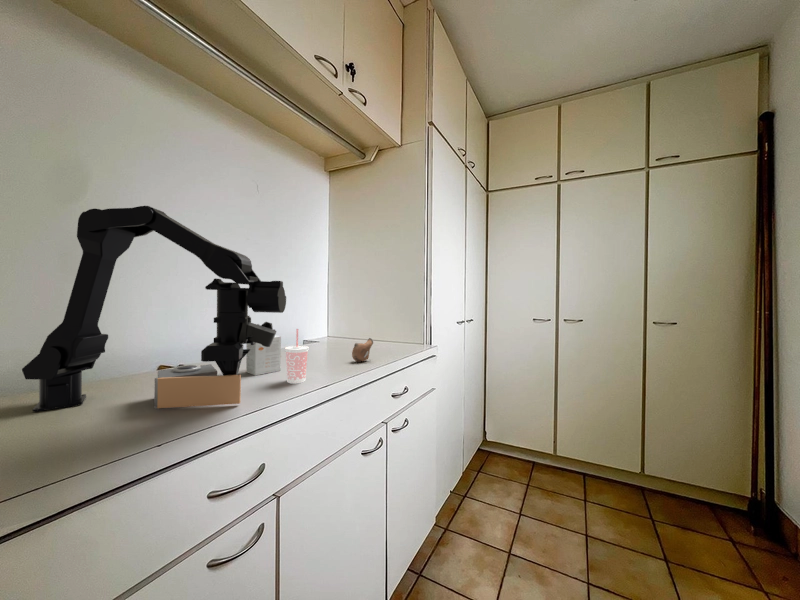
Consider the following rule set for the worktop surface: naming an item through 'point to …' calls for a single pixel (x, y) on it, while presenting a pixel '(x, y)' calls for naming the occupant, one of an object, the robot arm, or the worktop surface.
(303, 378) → the beverage cup
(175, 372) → the camera housing
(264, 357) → the small box
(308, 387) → the worktop surface
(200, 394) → the side door
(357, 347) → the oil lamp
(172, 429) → the worktop surface
